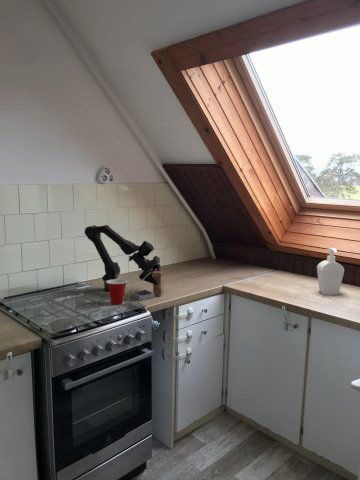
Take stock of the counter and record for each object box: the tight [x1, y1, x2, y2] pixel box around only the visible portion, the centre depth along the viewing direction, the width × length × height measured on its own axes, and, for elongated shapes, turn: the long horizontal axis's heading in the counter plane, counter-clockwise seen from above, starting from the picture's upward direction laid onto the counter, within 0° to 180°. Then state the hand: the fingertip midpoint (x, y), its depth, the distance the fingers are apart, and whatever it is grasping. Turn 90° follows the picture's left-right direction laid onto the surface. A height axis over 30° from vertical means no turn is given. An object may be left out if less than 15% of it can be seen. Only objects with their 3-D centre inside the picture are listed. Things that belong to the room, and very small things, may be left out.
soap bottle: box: [316, 247, 345, 296], centre depth 234 cm, size 12×10×26 cm
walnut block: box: [152, 270, 165, 298], centre depth 230 cm, size 4×4×13 cm
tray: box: [130, 289, 156, 302], centre depth 226 cm, size 9×9×2 cm
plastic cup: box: [106, 278, 128, 306], centre depth 216 cm, size 11×11×12 cm
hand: (160, 282), depth 229 cm, fingers open, 9 cm apart
